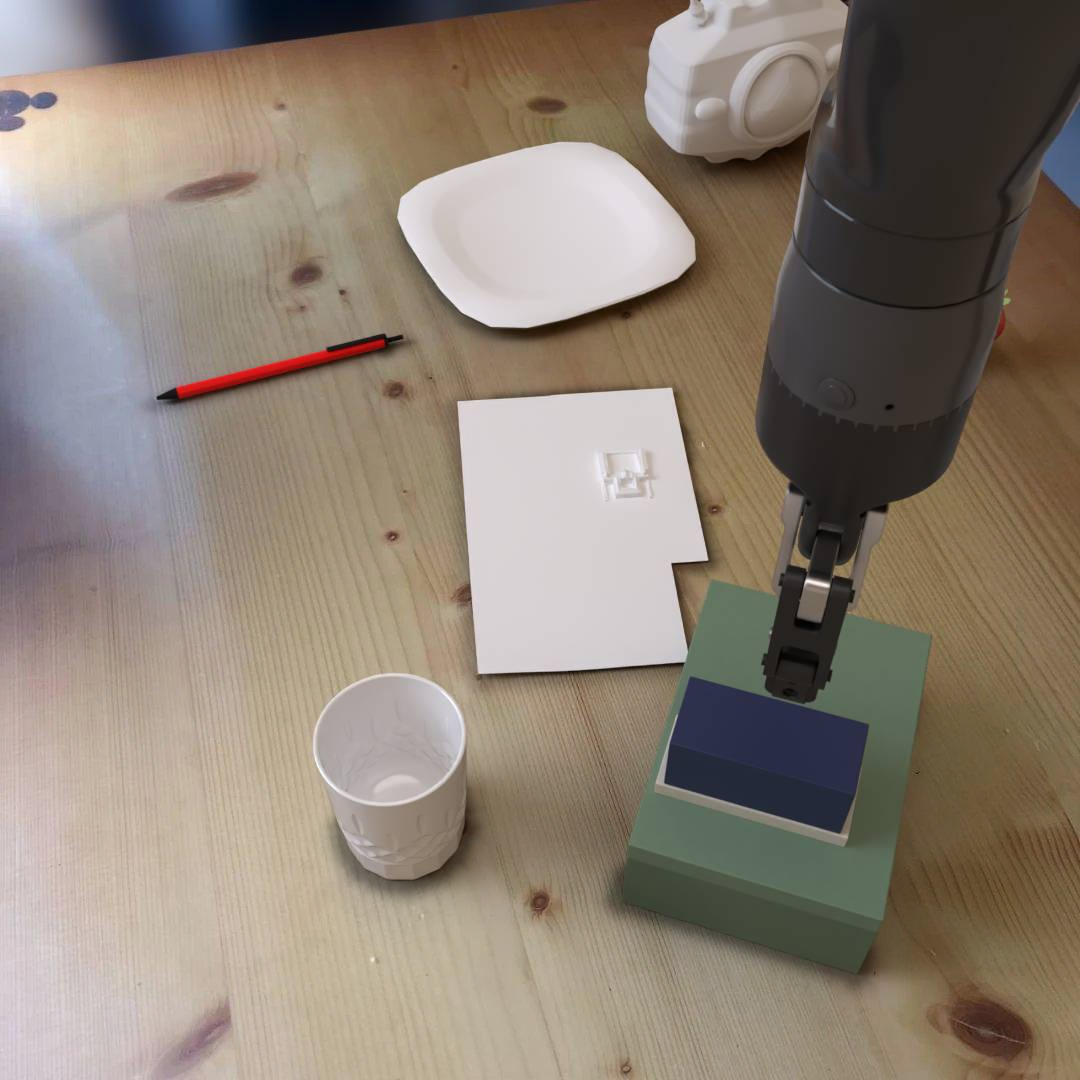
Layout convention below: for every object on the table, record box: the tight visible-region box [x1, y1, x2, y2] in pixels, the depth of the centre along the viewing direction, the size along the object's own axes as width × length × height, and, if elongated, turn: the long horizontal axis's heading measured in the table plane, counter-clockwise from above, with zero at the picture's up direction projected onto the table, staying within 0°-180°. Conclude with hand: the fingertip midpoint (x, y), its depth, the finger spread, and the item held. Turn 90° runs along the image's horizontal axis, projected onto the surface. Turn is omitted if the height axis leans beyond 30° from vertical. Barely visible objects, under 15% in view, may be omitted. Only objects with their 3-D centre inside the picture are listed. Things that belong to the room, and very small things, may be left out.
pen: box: [153, 333, 404, 401], centre depth 98 cm, size 1×19×1 cm, turn 110°
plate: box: [396, 141, 697, 330], centre depth 108 cm, size 22×22×2 cm
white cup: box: [312, 672, 468, 881], centre depth 71 cm, size 8×8×10 cm
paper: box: [456, 387, 709, 675], centre depth 88 cm, size 25×17×1 cm
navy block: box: [654, 676, 869, 847], centre depth 67 cm, size 10×4×5 cm, turn 72°
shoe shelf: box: [621, 578, 933, 975], centre depth 73 cm, size 13×18×7 cm
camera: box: [643, 0, 848, 164], centre depth 110 cm, size 11×18×16 cm, turn 114°
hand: (808, 614), depth 58 cm, fingers open, 8 cm apart
